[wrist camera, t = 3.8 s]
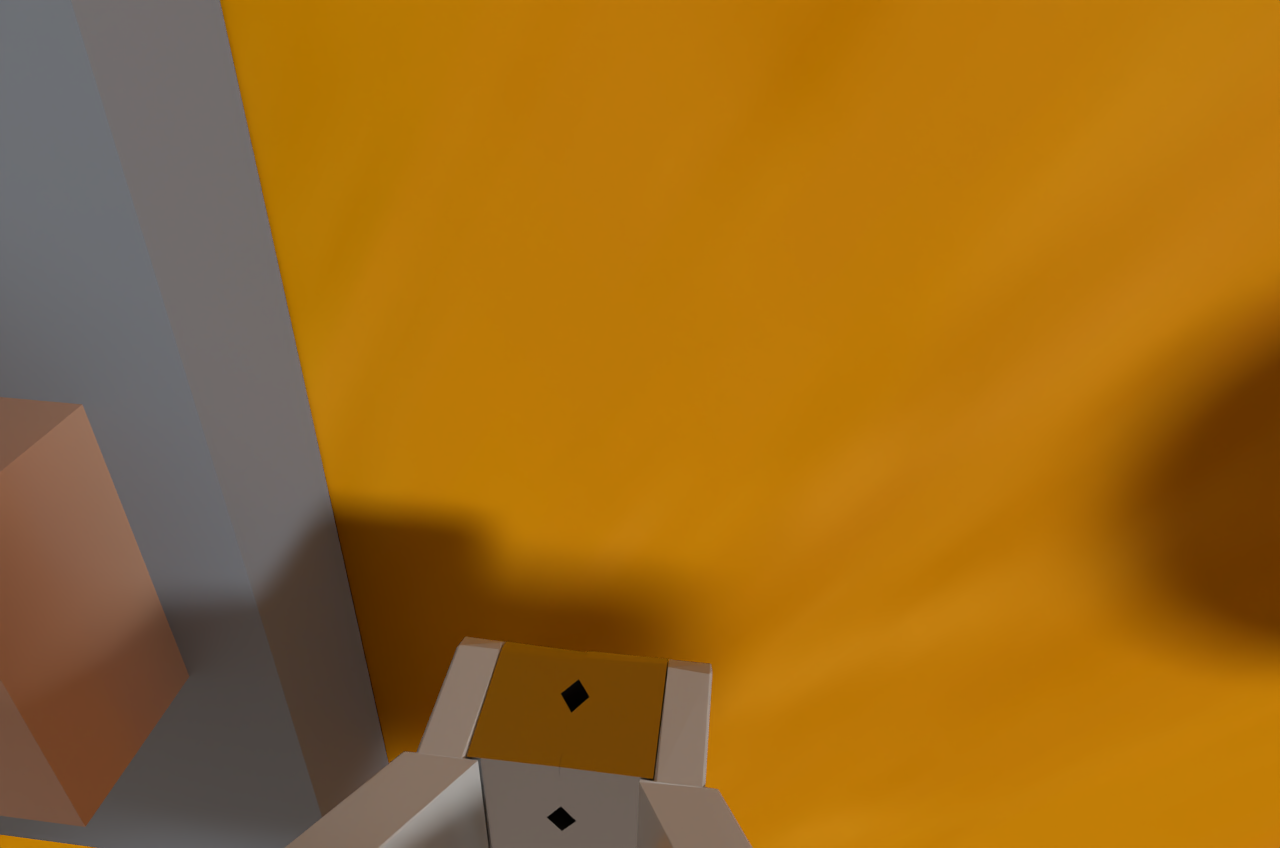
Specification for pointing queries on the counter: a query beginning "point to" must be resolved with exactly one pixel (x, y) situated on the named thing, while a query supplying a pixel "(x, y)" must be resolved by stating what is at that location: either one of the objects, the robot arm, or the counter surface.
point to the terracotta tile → (71, 621)
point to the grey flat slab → (182, 411)
